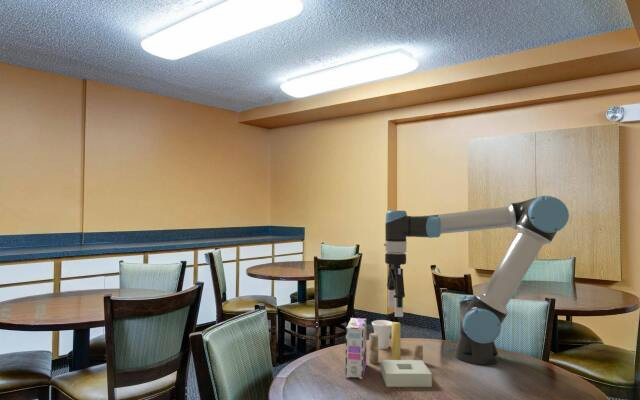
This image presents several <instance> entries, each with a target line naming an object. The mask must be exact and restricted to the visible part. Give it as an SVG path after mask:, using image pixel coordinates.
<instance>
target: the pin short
mask: <svg viewBox="0 0 640 400" xmlns="http://www.w3.org/2000/svg"><path fill="white" fill-rule="evenodd" d="M423 354H424V346H423V345H422V344H419V343H418V344H413V360H422V361H423V362H424V358H423V357H424V355H423Z"/></svg>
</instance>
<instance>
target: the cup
mask: <svg viewBox="0 0 640 400" xmlns="http://www.w3.org/2000/svg"><path fill="white" fill-rule="evenodd" d="M392 322H393V321H390V320H386V319H376V320H373V321H371V325H372V328H373V333H376V334H378V350H387V349H389V347H390V336H391V335H392Z"/></svg>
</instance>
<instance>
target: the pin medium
mask: <svg viewBox="0 0 640 400" xmlns="http://www.w3.org/2000/svg"><path fill="white" fill-rule="evenodd" d="M368 338H369V339H368V341H369V344H368V345H369V350H368V351H369V357H368V358H369V362H368V363H370V364H372V365H377V364H379V349H378V334H376V333H374V332H371V333H369V337H368Z"/></svg>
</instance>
